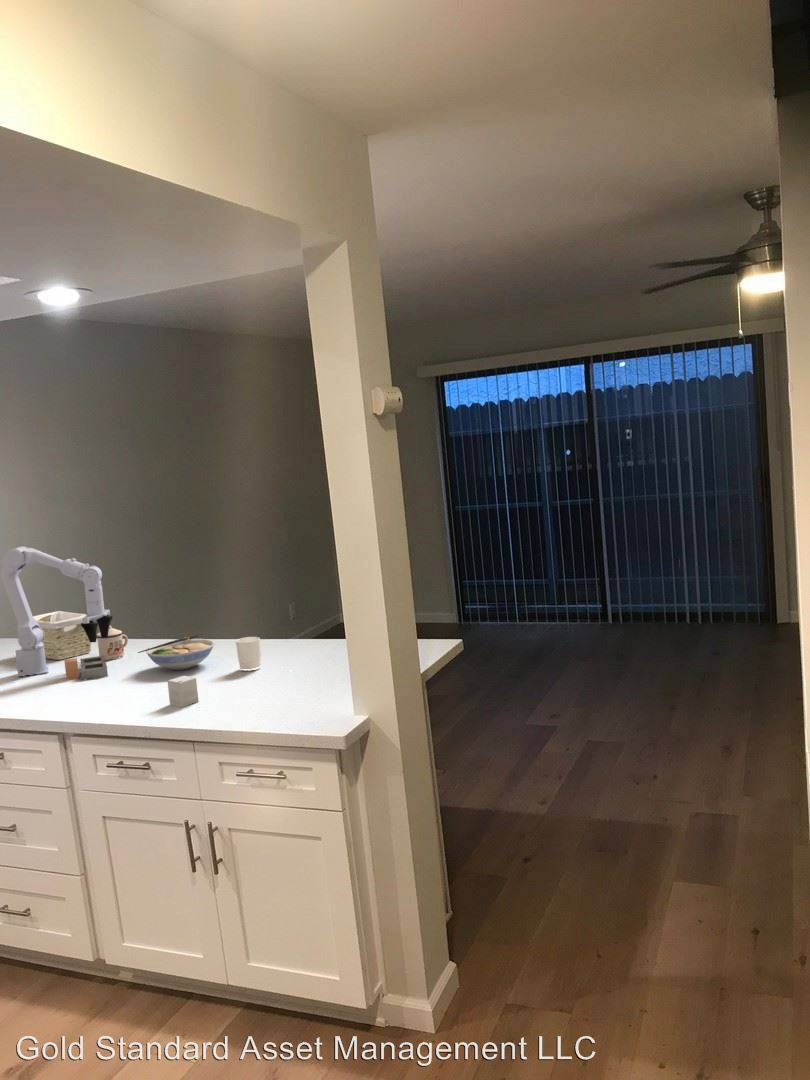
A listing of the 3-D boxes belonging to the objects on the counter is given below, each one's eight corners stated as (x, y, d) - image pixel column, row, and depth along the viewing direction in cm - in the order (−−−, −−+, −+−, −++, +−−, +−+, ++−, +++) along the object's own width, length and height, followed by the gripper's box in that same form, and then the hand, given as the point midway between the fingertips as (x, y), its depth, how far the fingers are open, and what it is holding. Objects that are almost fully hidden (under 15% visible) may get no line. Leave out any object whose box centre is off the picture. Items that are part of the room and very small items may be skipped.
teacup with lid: (109, 661, 325) (105, 629, 324) (93, 659, 331) (90, 627, 329) (136, 653, 335) (133, 622, 334) (121, 651, 340) (117, 621, 339)
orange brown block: (66, 679, 303) (64, 662, 302) (66, 677, 306) (64, 659, 306) (79, 678, 304) (77, 660, 303) (79, 675, 308) (77, 658, 307)
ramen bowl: (174, 680, 291) (171, 655, 290) (130, 673, 305) (128, 649, 304) (232, 661, 311) (230, 638, 310) (189, 655, 325) (187, 633, 324)
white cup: (265, 665, 303) (262, 636, 301) (259, 671, 295) (256, 641, 294) (242, 666, 303) (239, 637, 302) (235, 672, 296) (232, 642, 294)
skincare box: (186, 699, 269) (183, 675, 268) (199, 701, 265) (196, 677, 264) (169, 704, 264) (166, 680, 263) (182, 707, 260) (179, 682, 259)
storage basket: (24, 656, 345) (19, 618, 344) (63, 646, 358) (59, 609, 356) (56, 662, 330) (51, 623, 328) (96, 652, 342) (92, 614, 341)
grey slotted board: (107, 676, 303) (106, 667, 303) (82, 680, 301) (81, 671, 300) (105, 663, 322) (104, 655, 322) (81, 667, 319) (80, 658, 319)
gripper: (93, 605, 307) (98, 644, 309) (116, 597, 321) (119, 634, 323) (75, 605, 309) (79, 644, 310) (98, 597, 323) (102, 634, 324)
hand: (98, 639), depth 317 cm, fingers open, 7 cm apart
